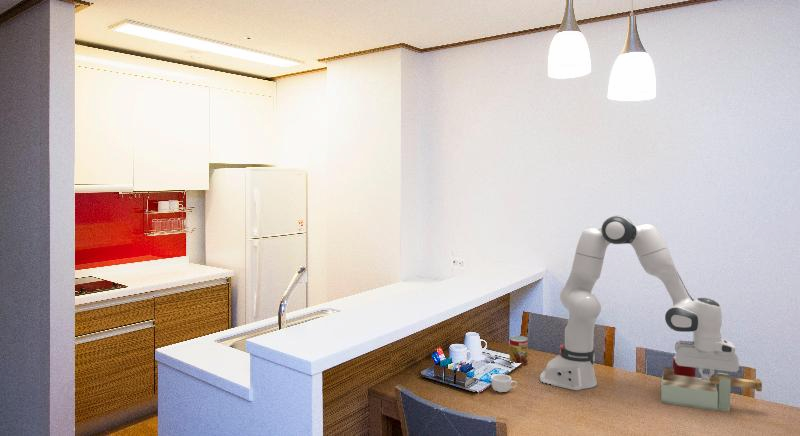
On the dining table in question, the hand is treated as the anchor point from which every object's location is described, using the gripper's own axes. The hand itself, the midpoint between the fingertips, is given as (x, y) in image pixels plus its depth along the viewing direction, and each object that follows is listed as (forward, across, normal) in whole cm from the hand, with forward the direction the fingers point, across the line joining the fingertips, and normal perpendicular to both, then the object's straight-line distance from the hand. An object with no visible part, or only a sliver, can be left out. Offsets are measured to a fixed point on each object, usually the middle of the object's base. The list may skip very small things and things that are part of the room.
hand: (705, 379), depth 199 cm
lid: (+2, -6, 0) cm, 6 cm away
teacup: (+9, -71, -16) cm, 73 cm away
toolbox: (+9, -4, 0) cm, 10 cm away
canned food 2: (+10, -6, +17) cm, 21 cm away
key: (+1, +9, 0) cm, 9 cm away
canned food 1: (+9, -72, +16) cm, 74 cm away
